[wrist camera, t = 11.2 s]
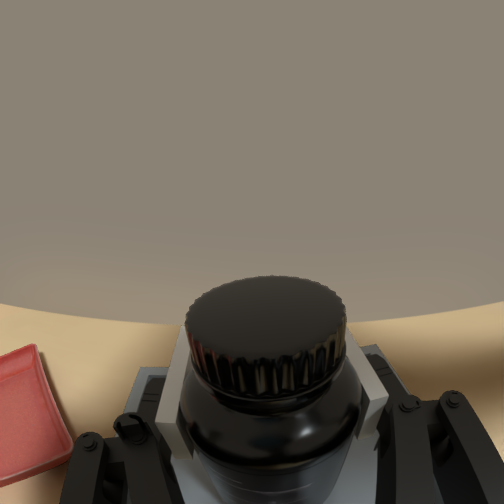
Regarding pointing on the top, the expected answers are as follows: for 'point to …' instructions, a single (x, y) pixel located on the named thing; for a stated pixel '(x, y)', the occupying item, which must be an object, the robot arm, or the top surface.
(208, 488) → the tray
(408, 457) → the robot arm
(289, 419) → the supplement bottle
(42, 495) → the top surface
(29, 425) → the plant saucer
